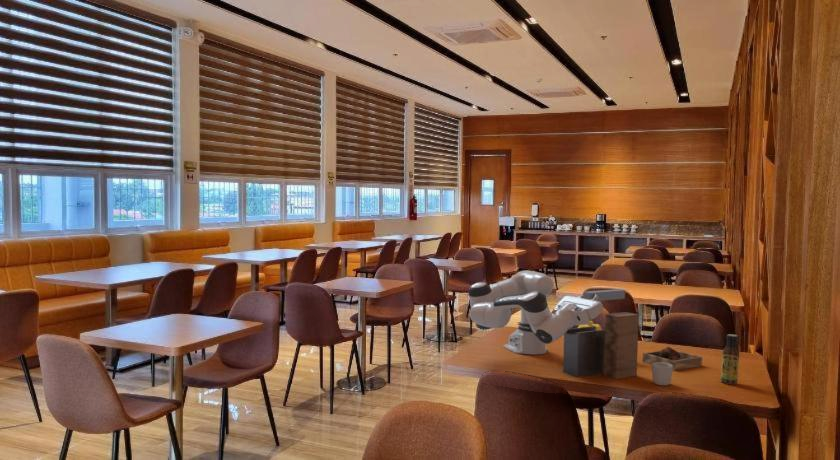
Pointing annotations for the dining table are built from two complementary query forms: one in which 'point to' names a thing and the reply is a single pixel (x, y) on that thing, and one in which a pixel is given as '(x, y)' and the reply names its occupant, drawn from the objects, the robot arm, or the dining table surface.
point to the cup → (662, 373)
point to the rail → (605, 294)
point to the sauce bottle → (730, 361)
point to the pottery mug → (668, 353)
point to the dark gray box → (584, 351)
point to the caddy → (683, 363)
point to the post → (621, 345)
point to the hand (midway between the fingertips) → (592, 295)
